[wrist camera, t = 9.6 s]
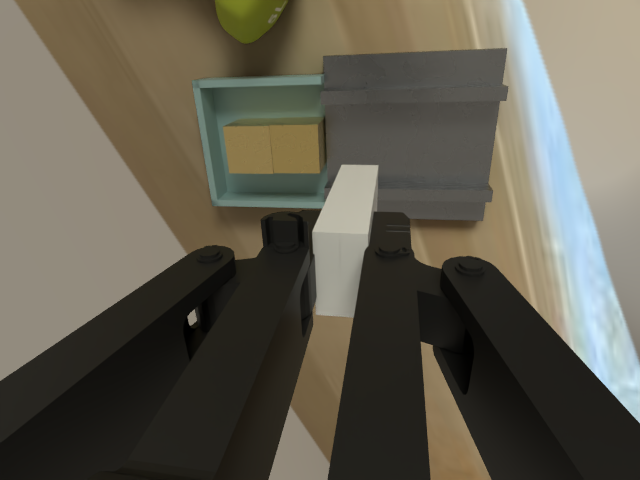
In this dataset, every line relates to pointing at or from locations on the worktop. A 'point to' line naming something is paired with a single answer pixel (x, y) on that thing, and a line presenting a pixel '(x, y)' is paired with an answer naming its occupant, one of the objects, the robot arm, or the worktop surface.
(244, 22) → the dumbbell
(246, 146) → the wooden block
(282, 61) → the worktop surface
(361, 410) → the robot arm
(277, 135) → the wooden cube
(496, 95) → the slot board
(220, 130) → the tray
